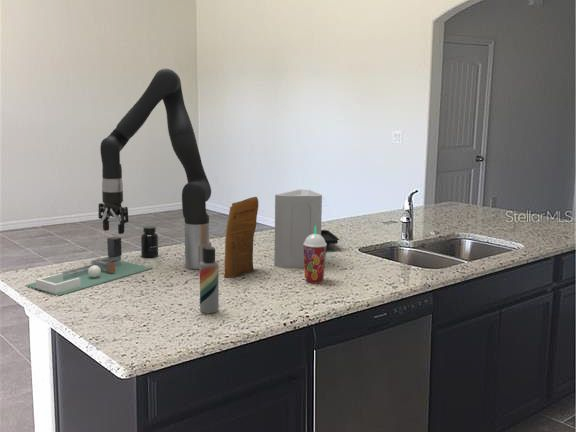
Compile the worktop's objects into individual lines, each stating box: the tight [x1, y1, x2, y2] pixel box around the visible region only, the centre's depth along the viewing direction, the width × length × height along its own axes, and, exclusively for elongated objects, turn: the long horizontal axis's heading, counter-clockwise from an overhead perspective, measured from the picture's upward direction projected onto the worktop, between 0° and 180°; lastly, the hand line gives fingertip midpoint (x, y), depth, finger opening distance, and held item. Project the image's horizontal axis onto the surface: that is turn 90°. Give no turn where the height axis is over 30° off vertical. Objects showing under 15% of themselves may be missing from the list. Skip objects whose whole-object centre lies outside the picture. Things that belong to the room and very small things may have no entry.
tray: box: [321, 229, 340, 247], centre depth 276 cm, size 30×23×5 cm
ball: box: [88, 265, 101, 278], centre depth 221 cm, size 4×4×4 cm
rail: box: [49, 260, 122, 280], centre depth 228 cm, size 4×28×2 cm, turn 146°
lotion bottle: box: [199, 246, 220, 314], centre depth 189 cm, size 6×6×20 cm
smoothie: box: [303, 226, 327, 284], centre depth 221 cm, size 8×8×20 cm
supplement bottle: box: [140, 225, 159, 259], centre depth 253 cm, size 7×7×12 cm
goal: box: [35, 272, 81, 294], centre depth 209 cm, size 10×10×3 cm
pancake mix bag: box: [223, 196, 259, 278], centre depth 229 cm, size 7×19×28 cm, turn 144°
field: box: [25, 260, 153, 297], centre depth 223 cm, size 18×41×1 cm, turn 146°
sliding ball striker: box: [91, 236, 123, 273], centre depth 233 cm, size 12×12×10 cm
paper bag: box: [273, 189, 323, 269], centre depth 243 cm, size 19×15×28 cm
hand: (113, 231), depth 237 cm, fingers open, 8 cm apart
